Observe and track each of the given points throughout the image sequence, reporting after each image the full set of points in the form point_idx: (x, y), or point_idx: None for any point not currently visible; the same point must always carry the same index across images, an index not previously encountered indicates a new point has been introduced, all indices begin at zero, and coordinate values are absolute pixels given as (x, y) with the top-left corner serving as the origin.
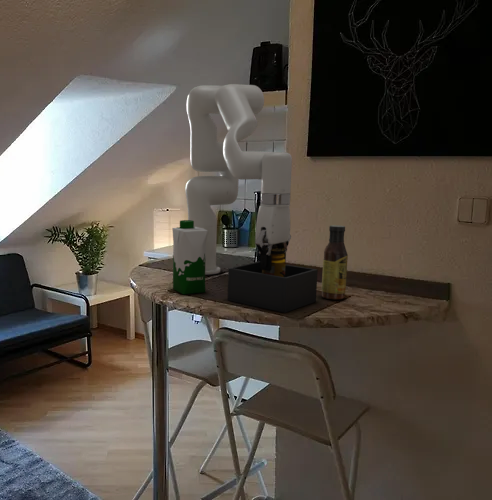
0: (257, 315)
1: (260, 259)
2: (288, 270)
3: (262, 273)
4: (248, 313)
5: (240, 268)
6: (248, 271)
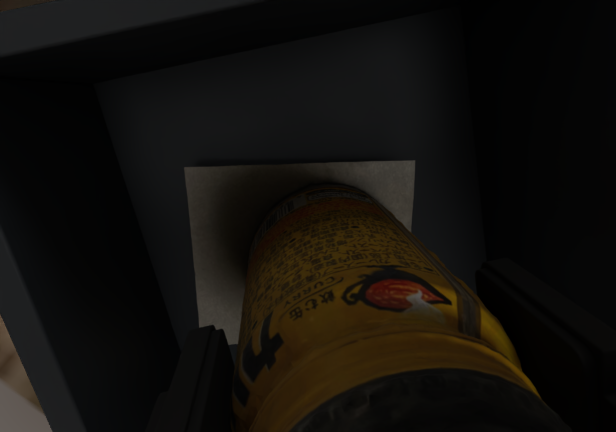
0: (38, 408)
1: (168, 402)
2: (588, 282)
3: (249, 288)
4: (15, 361)
5: (130, 35)
6: (17, 322)
